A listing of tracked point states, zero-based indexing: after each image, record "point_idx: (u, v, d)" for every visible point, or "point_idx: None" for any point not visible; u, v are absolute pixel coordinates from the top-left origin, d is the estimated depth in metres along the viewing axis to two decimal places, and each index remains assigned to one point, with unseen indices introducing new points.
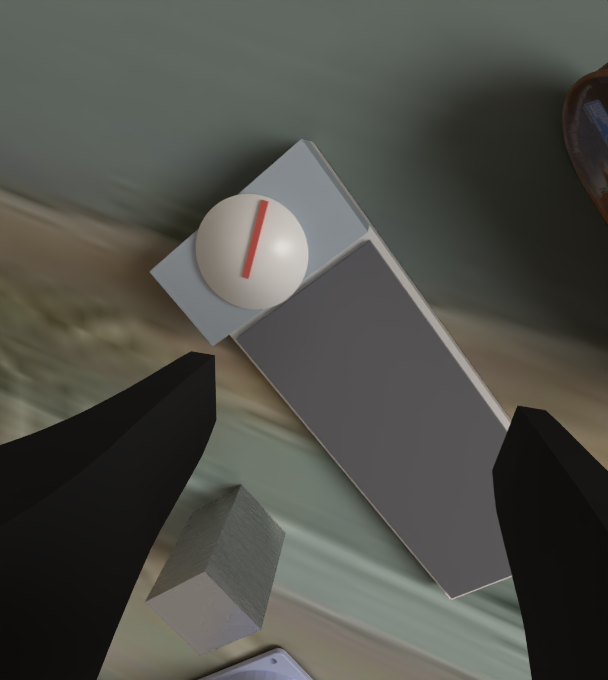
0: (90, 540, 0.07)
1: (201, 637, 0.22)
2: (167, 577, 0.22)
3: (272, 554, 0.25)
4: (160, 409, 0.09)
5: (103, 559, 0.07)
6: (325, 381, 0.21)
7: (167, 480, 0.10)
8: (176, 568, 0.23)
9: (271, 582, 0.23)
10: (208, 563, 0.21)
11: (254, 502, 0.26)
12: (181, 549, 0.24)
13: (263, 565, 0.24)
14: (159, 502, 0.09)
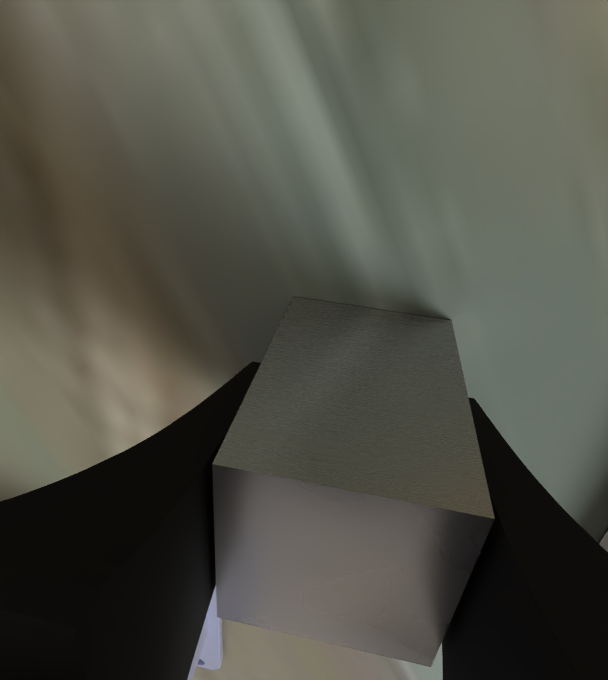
0: (186, 561, 0.07)
1: (268, 599, 0.08)
2: (291, 431, 0.07)
3: None
4: None
5: (193, 579, 0.07)
6: None
7: None
8: (317, 420, 0.08)
9: None
10: (487, 494, 0.07)
11: None
12: (307, 370, 0.09)
13: None
14: None
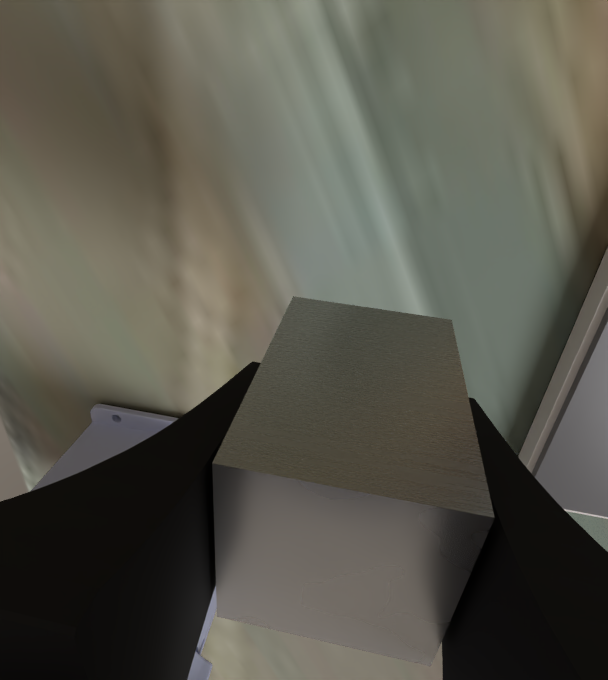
0: (186, 561, 0.07)
1: (268, 599, 0.08)
2: (291, 430, 0.07)
3: None
4: None
5: (193, 579, 0.07)
6: None
7: None
8: (317, 419, 0.08)
9: None
10: (487, 493, 0.07)
11: None
12: (307, 370, 0.09)
13: None
14: None
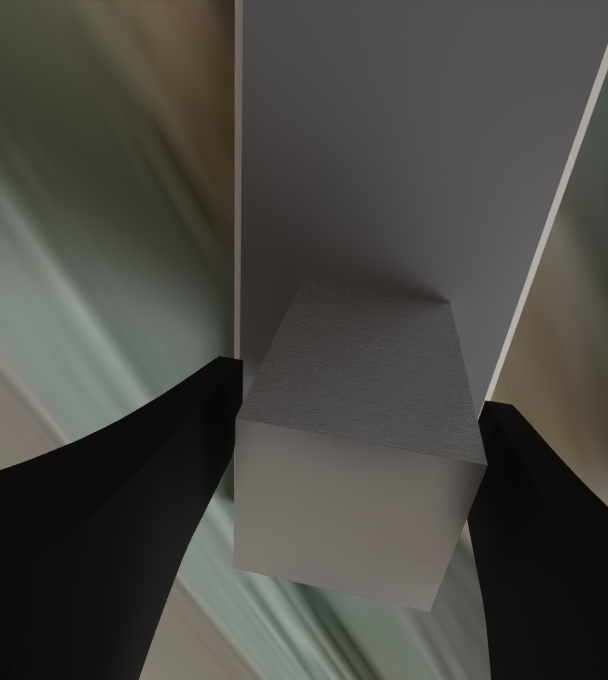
0: (134, 550, 0.07)
1: (281, 549, 0.09)
2: (304, 392, 0.08)
3: None
4: (196, 416, 0.09)
5: (144, 568, 0.07)
6: (326, 169, 0.11)
7: (199, 486, 0.10)
8: (328, 384, 0.09)
9: None
10: (481, 445, 0.07)
11: None
12: (317, 343, 0.10)
13: None
14: (192, 509, 0.09)
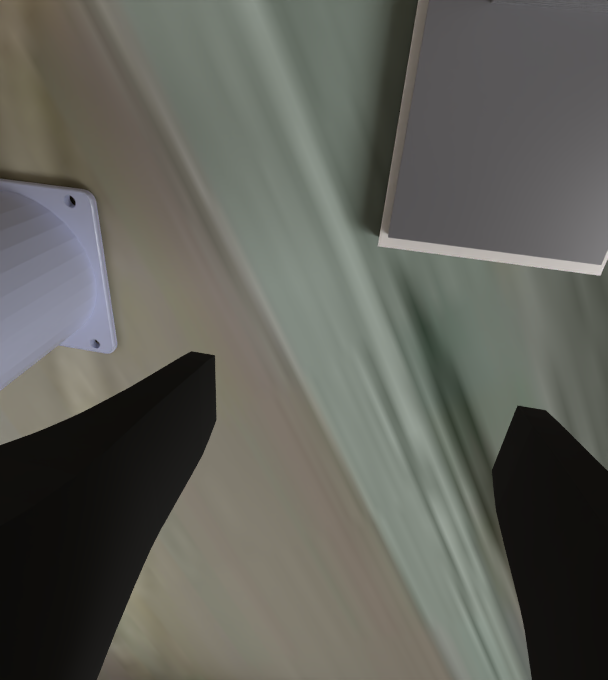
0: (90, 540, 0.07)
1: None
2: None
3: None
4: (160, 409, 0.09)
5: (103, 559, 0.07)
6: None
7: (167, 480, 0.10)
8: None
9: None
10: None
11: None
12: None
13: None
14: (159, 502, 0.09)
